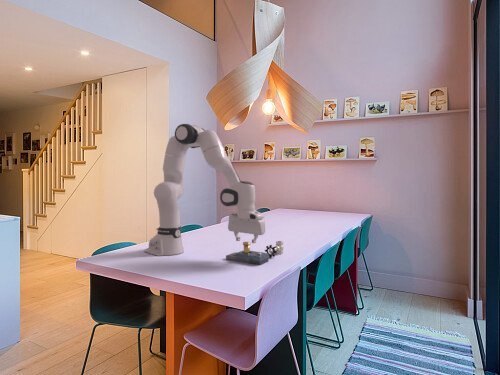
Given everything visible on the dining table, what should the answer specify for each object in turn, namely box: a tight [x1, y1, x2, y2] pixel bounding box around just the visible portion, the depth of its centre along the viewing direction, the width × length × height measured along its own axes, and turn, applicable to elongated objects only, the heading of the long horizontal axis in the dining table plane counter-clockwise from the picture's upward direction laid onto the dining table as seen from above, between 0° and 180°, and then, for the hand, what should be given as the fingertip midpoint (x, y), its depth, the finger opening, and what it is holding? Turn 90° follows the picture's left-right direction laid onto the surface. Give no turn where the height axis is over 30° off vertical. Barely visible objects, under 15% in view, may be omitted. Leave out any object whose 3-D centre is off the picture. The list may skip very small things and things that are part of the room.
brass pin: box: [242, 241, 251, 254], centre depth 168 cm, size 4×4×9 cm
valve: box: [264, 240, 284, 258], centre depth 178 cm, size 7×7×12 cm
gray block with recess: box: [225, 249, 269, 266], centre depth 168 cm, size 20×8×5 cm, turn 57°
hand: (245, 241), depth 168 cm, fingers open, 8 cm apart
